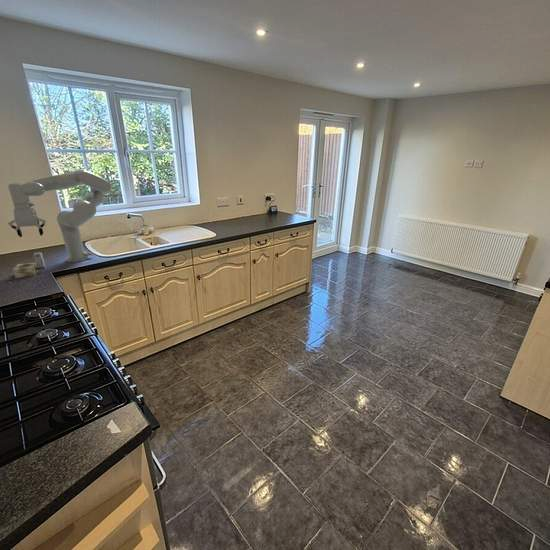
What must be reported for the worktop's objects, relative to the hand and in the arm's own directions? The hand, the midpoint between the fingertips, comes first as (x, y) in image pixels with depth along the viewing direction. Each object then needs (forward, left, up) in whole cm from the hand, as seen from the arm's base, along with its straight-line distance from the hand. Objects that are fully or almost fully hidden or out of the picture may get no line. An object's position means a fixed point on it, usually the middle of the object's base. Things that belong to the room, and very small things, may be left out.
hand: (31, 235), depth 174 cm
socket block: (+3, +10, -20) cm, 22 cm away
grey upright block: (0, 0, -20) cm, 20 cm away
